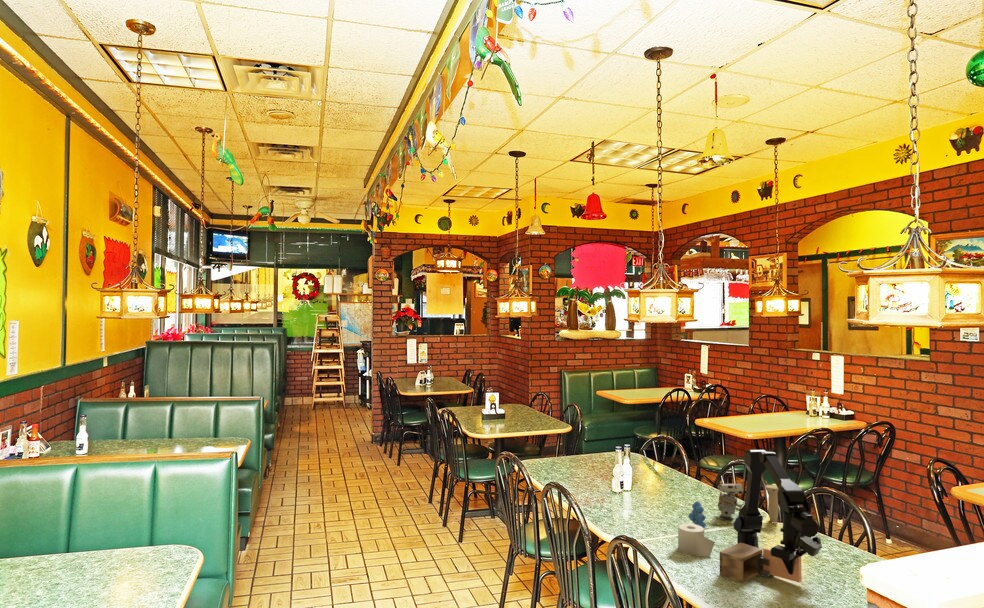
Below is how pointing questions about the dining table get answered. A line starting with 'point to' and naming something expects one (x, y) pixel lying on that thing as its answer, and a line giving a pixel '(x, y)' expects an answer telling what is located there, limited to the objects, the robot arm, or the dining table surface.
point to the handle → (773, 502)
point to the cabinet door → (782, 567)
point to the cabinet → (739, 562)
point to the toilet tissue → (694, 540)
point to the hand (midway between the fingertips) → (792, 573)
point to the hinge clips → (762, 562)
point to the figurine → (729, 499)
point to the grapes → (697, 514)
